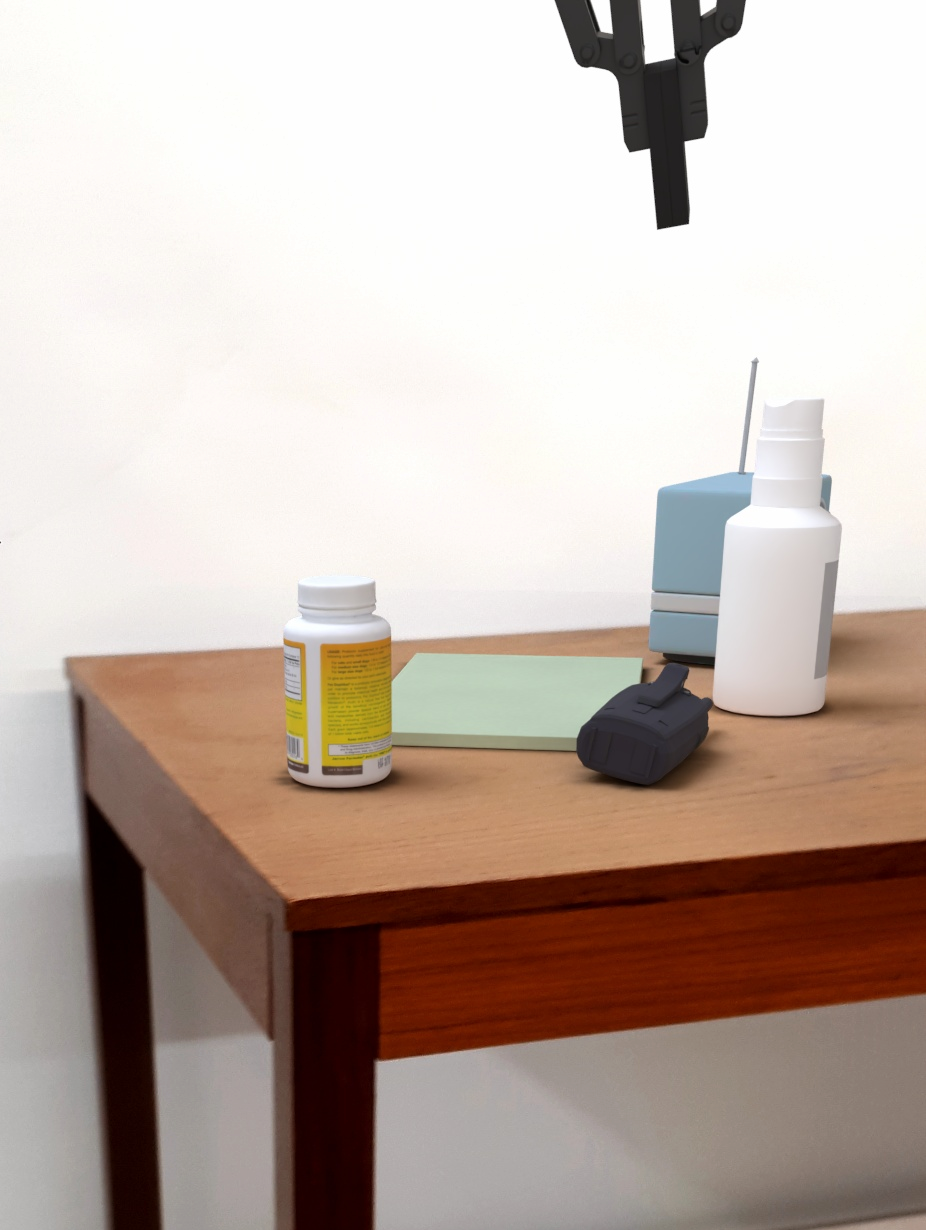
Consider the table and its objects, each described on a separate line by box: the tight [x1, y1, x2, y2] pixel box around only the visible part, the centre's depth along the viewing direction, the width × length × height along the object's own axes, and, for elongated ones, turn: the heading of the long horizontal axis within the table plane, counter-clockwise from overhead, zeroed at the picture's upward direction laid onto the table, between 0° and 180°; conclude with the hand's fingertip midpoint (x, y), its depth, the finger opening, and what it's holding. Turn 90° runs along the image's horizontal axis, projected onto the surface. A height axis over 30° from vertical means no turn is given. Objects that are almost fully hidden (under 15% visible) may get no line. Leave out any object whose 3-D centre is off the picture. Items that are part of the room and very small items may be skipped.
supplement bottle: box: [282, 574, 393, 789], centre depth 87 cm, size 6×6×10 cm
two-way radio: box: [575, 662, 714, 786], centre depth 91 cm, size 6×4×15 cm
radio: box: [648, 356, 833, 666], centre depth 119 cm, size 16×9×20 cm, turn 150°
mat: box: [392, 652, 644, 752], centre depth 106 cm, size 16×26×1 cm, turn 169°
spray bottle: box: [712, 397, 843, 717], centre depth 101 cm, size 7×7×18 cm
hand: (673, 219), depth 79 cm, fingers closed
